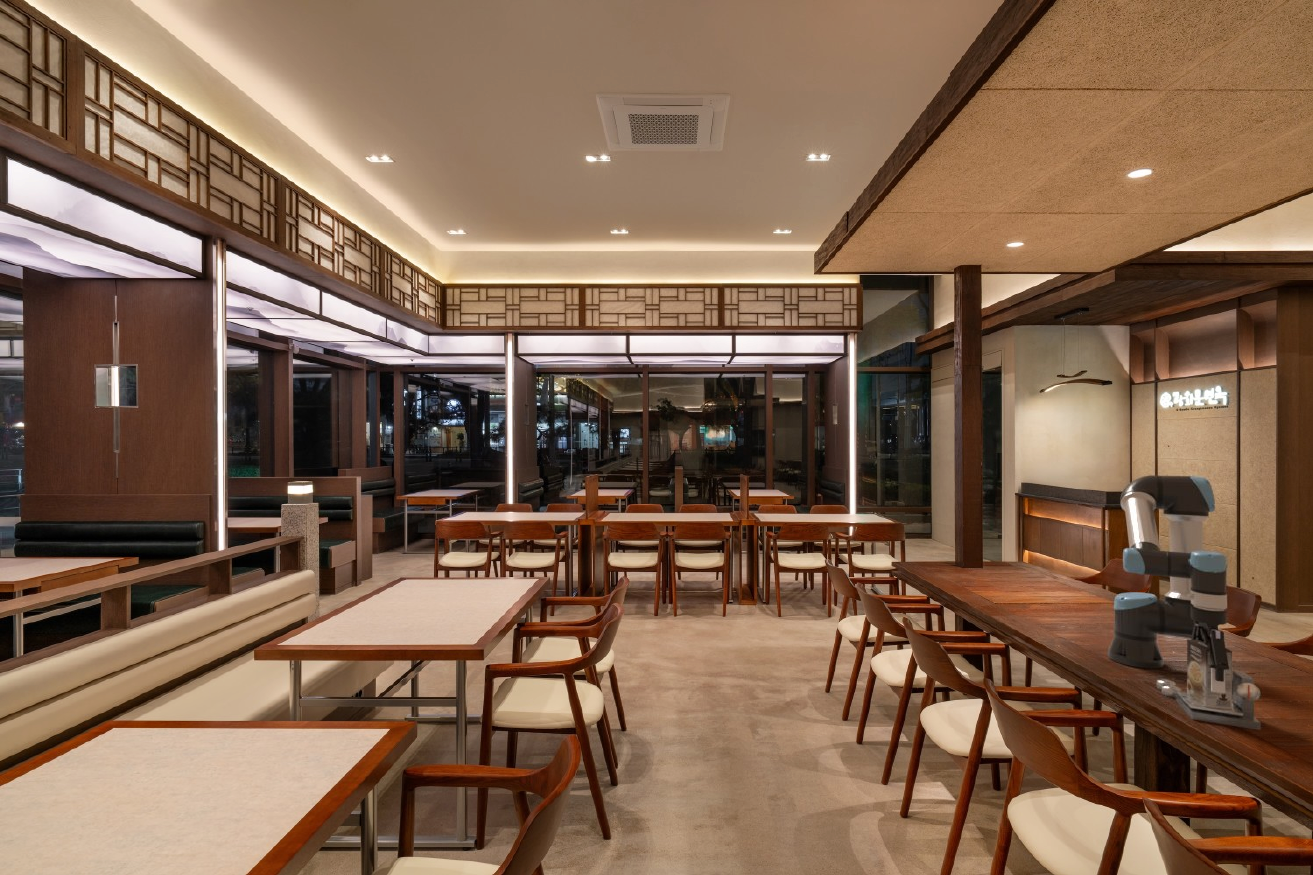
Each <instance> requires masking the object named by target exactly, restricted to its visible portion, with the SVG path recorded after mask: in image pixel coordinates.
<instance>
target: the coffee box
mask: <svg viewBox="0 0 1313 875" xmlns="http://www.w3.org/2000/svg"><path fill="white" fill-rule="evenodd" d="M1225 648H1226V647H1225ZM1186 649H1187V650H1186V661H1187V662H1186V692H1187V694H1188V695H1189V696H1191V697H1192V698H1193V699H1195V700H1196V701H1198V702H1199V703H1201V704H1202V705H1204V706H1205V707H1209V708H1221V709H1232V702H1233V650H1230V649H1229V648H1226V654H1227V659H1228V665H1229V670H1228V669H1226V670H1225V694H1224V693H1217V692H1212V691H1211V668H1210V667H1209V666H1210V665H1212V661H1211V657H1210V649H1209V648H1208V646H1207V645H1206V644H1205V643H1204V640H1191V639H1190V638H1187V639H1186ZM1219 664H1221V663H1219Z"/></svg>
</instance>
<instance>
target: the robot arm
mask: <svg viewBox="0 0 1313 875" xmlns="http://www.w3.org/2000/svg"><path fill="white" fill-rule="evenodd" d="M1119 500H1120V501H1119V502H1120V507H1121V509H1122V510H1123V511H1124V514H1125V520H1126V527H1127V528H1126V529H1127V538H1128V546H1129V547H1126V548H1124V549H1123V550H1122V551H1123V552H1122V566H1123V570H1124V571H1125V572H1127V573H1133V574H1138V575H1147V576H1159V577H1160V576H1161V577H1169V579H1170V580H1169V583H1170V584H1169V587H1170V588H1169V591H1168V592H1166V593H1165V594H1164V599H1158V597H1157V596H1156V595H1155V594H1153V593H1148V592H1147V593H1146V592H1137V591H1136V592H1132V591H1131V592H1122V593H1119V594H1117V595H1116V596H1115V597H1114V601H1113V602H1114V606H1113V609H1114V616H1113V617H1114V628H1113V629H1114V631H1113V638H1112V640H1111V643H1110V645H1109V647H1108V649H1107V656H1108V658H1109V659H1110V660H1112V661H1114V662H1116V663H1119V664H1121V665H1126V666H1131V667H1136V668H1141V669H1142V668H1143V669H1152V670H1153V669H1154V670H1155V669H1160V668H1161V669H1162V668H1163V667H1164V666H1165V665H1164V657H1163V654H1162V652H1161V649H1160V647H1159V644H1158V639H1157V638H1158V636H1157V635H1161V636H1169V637H1176V638H1185V639H1189V640H1204V643H1205V644H1206V645H1207V646H1208V648H1209V649H1210V657H1211V661H1212V665H1210V666H1209V667H1210V668H1211V691H1212V692H1217V693H1224V694H1225V670H1226V669H1228V670H1229V665H1228V659H1227V654H1226V644H1225V643H1226V642H1225V633H1224V631H1223V630H1220V629H1219V626H1220V625H1221V626H1222V625H1223V626H1224V625H1226V624H1227V621H1228V619H1227V618H1228V616H1227V615H1228V613H1227V611H1226V609H1228V593H1227V572H1228V571H1227V570H1228V564H1227V556H1226V555H1225V554H1223V553H1221V552H1216V551H1210V550H1209V551H1208V550H1207V551H1206V550H1204V529H1203V527H1204V526H1203V524H1204V521H1206V520H1207V519H1208V518H1209V517H1210V516H1209V514H1210V513H1212V512H1213V513H1214V512H1215V510H1216V502H1215V501H1216V500H1215V495H1214V490H1213V487H1212V484H1211V482H1210V481H1209V479H1207V478H1206V477H1203V476H1191V475H1188V476H1187V475H1185V476H1184V475H1156V474H1154V475H1153V474H1152V475H1151V474H1150V475H1146V476H1141V477H1138V478H1136V479H1134V480H1133V481H1131V482H1129V483H1128V484H1127V485H1126V486H1125V487H1124V488H1123V490H1122V492H1121V494H1120V499H1119ZM1155 510H1163V516H1164V517H1165V518H1167V519H1168V524H1169V525H1168V526H1169V527H1168V528H1169V551H1168V550H1161V547H1160V546H1161V545H1160V539H1159V535H1158V534H1159V533H1158V528H1157V524H1156V518H1155V512H1154V511H1155ZM1219 663H1221V664H1219Z"/></svg>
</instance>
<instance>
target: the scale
mask: <svg viewBox="0 0 1313 875" xmlns="http://www.w3.org/2000/svg"><path fill="white" fill-rule="evenodd" d="M1254 682H1255V679H1254V678H1253V677H1252V676H1250V675H1249V674H1247V673H1246V672H1245V671H1239V670H1232V709H1221V708H1209V707H1205V706H1204V705H1202V704H1201V703H1199V702H1198V701H1196V700H1195V699H1193V698H1192V697H1191V696H1189V695H1188V694H1187V691H1181V692H1180V691H1177V693H1178V694H1177V693H1176V698H1175V701H1176V702H1177V703H1178V705H1179V706H1180V707H1181V708H1182V709H1183V710H1184V711H1185V713H1186V714H1187V715H1188V716H1189V718H1191V719H1192V720H1194V721H1201V722H1207V723H1212V724H1213V723H1214V724H1218V725H1219V724H1220V725H1223V726H1224V725H1225V726H1231V727H1236V728H1237V727H1238V728H1243V729H1244V728H1245V729H1251V730H1255V731H1256V730H1257V731H1261V730H1262V729H1261V728H1262V727H1261V726H1262V725H1261V722H1260V721H1259V719H1257V718H1256V717H1255V701H1257V700H1259V698H1260V697H1261V691H1260V688H1258V686H1257V685H1255V683H1254Z"/></svg>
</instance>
